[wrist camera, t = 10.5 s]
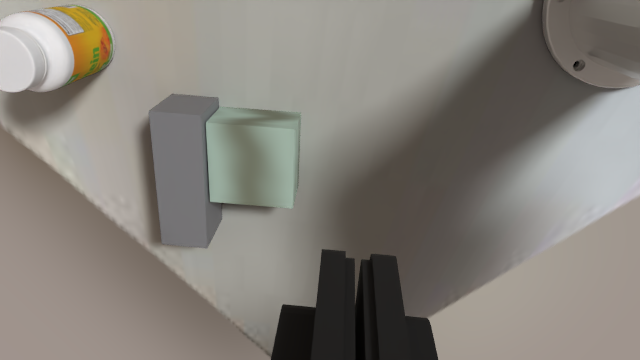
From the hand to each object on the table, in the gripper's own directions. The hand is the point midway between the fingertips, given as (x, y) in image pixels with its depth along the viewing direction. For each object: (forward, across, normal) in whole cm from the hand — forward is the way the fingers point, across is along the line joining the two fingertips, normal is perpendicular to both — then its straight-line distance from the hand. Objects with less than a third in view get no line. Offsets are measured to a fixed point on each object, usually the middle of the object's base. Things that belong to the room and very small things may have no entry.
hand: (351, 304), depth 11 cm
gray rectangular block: (+29, +13, +10) cm, 33 cm away
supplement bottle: (+29, +22, 0) cm, 37 cm away
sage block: (+29, +7, +8) cm, 31 cm away
